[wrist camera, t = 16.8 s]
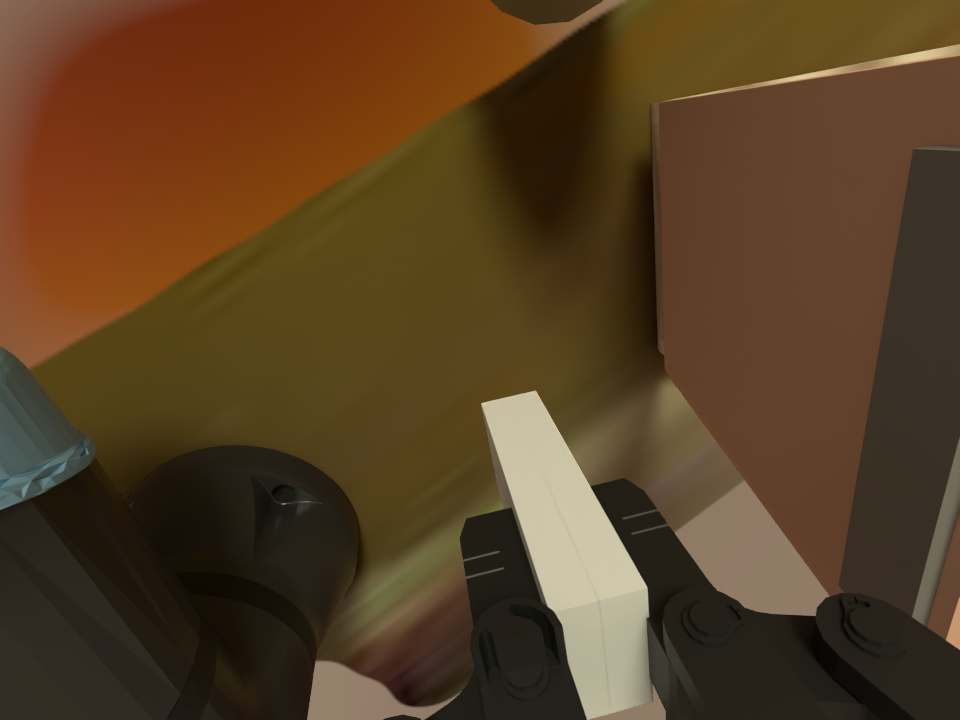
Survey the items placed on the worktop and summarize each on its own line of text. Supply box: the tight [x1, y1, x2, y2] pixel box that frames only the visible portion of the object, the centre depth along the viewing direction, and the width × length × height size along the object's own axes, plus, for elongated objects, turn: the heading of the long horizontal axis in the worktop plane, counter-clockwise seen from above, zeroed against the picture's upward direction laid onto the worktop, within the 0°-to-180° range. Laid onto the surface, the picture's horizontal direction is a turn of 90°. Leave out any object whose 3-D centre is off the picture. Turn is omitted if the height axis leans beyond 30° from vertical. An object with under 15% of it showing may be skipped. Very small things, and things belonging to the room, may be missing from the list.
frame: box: [651, 44, 960, 355], centre depth 30 cm, size 20×15×2 cm
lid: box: [659, 54, 960, 650], centre depth 19 cm, size 20×15×1 cm
